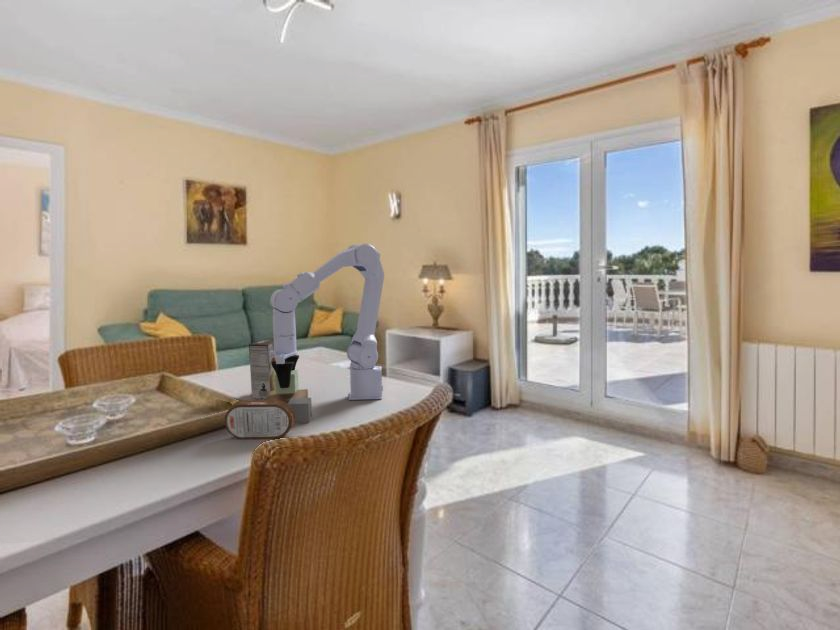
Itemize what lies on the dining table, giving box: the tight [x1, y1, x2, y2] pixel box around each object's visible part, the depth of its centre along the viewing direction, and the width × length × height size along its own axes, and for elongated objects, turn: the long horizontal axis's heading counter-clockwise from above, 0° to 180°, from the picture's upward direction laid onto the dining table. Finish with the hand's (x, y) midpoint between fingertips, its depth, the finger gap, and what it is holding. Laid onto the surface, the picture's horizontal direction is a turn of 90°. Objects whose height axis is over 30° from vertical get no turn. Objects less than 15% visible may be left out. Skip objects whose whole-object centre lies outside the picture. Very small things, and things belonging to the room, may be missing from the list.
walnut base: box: [265, 388, 309, 404], centre depth 124 cm, size 10×10×4 cm
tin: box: [224, 399, 295, 440], centre depth 102 cm, size 15×3×8 cm, turn 92°
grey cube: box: [288, 397, 313, 424], centre depth 114 cm, size 5×5×5 cm
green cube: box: [275, 369, 299, 394], centre depth 123 cm, size 5×5×5 cm
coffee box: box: [248, 338, 276, 400], centre depth 136 cm, size 9×6×16 cm
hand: (286, 384), depth 123 cm, fingers closed on green cube, 5 cm apart
